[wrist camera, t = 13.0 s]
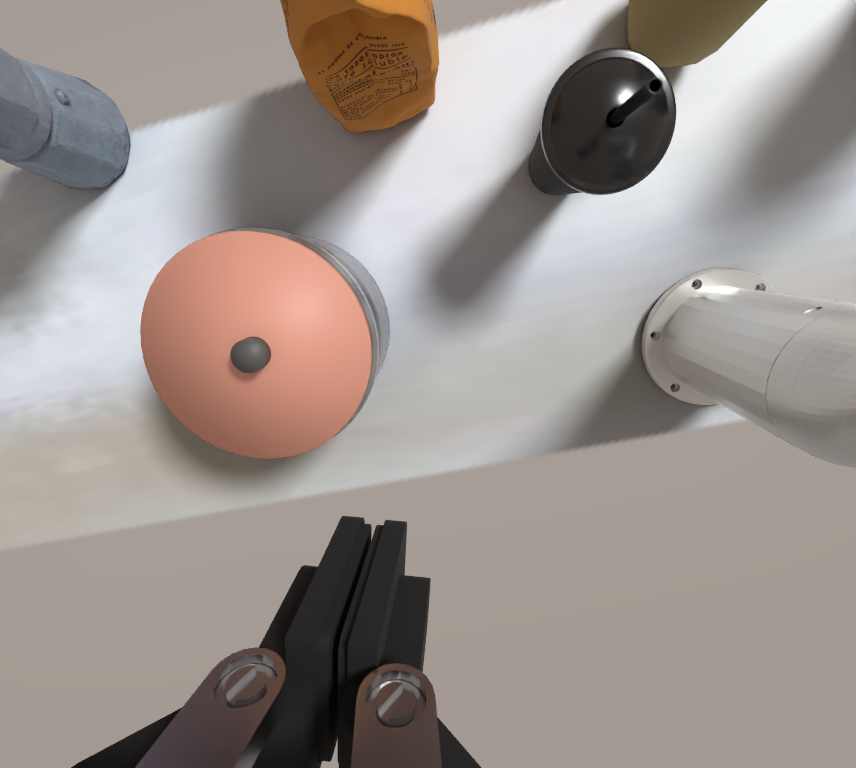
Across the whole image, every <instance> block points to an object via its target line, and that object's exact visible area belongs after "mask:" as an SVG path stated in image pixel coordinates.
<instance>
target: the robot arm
mask: <svg viewBox="0 0 856 768" xmlns="http://www.w3.org/2000/svg"><path fill="white" fill-rule="evenodd" d="M693 281H694V286H692V283H693ZM755 287H756V289H755ZM652 332H653V333H654V335H653V336H652V337H650V335H651V333H652ZM642 355H643V361H644V364H645V366H646V369H647V371H648V373H649V375H650V376H651V378H652V379H653V381H654V382H655V383H656V384H657V385H658V386H659V387H660V388H661V389H662V390H664V391H665V392H667V393H668V394H670V395H671V396H673V397H675V398H677V399H679V400H681V401H684V402H688V403H692V404H701V405H711V404H721V405H723V406H725V407H726V408H728V409H730V410H732V411H733V412H735V413H737V414H739V415H740V416H742V417H744V418H746V419H747V420H749V421H751V422H753V423H754V424H756V425H758V426H760V427H762V428H763V429H765V430H767V431H769V432H770V433H772V434H774V435H776V436H777V437H779V438H781V439H783V440H784V441H786V442H788V443H790V444H791V445H793V446H796V447H797V448H799V449H801V450H803V451H804V452H806V453H808V454H810V455H812V456H814V457H817V458H819V459H821V460H824V461H827V462H830V463H833V464H837V465H841V466H847V467H855V468H856V303H853V302H845V301H837V300H830V299H822V298H814V297H806V296H799V295H791V294H783V293H778V291H777V290H776V289H775V288H774V287H773V286H772V285H771V284H770V283H769V282H768V281H766V280H765V279H763V278H762V277H760V276H759V275H756V274H754V273H751V272H748V271H746V270H739V269H733V268H716V269H709V270H704V271H701V272H698V273H695V274H692V275H690V276H688V277H686V278H684V279H682V280H680V281H679V282H677V283H676V284H675V285H674V286H672V287H671V288H670V289H668V290H667V291H666V292H665V293H664V294H663V295H662V297H661V298H660V299H659V300H658V301H657V303H656V304H655V306H654V307H653V309H652V310H651V312H650V314H649V316H648V318H647V321H646V323H645V326H644V330H643V335H642ZM672 384H673V386H672V387H671V385H672ZM406 533H407V522H402V521H391V520H386V521H385V523H384V525H377V526H376V529H375V532H374V535H373V538H372V541H371V524H365V523H364V518H360V517H349V516H342V517H341V519H340V521H339V523H338V526H337V528H336V530H335V532H334V534H333V536H332V538H331V541H330V543H329V545H328V547H327V549H326V551H325V554H324V556H323V558H322V560H321V562H320V564H319V566H318V567H315V566H306V565H304V566H302V567H301V569H300V570H299V572H298V574H297V576H296V578H295V580H294V581H293V583H292V585H291V587H290V589H289V591H288V593H287V595H286V597H285V599H284V600H283V602H282V604H281V606H280V608H279V610H278V612H277V614H276V616H275V618H274V620H273V621H272V623H271V625H270V627H269V629H268V631H267V633H266V635H265V637H264V639H263V641H262V643H261V645H260V646H259V648H249V649H243V650H241V651H238V652H236V653H233V654H231V655H230V656H228V657H226V658H225V659H223V660H222V661H221V662H219V664H217V666H216V667H214V668H213V669H212V671H211V672H210V673H209V674H208V676H207V677H206V678H205V680H204V681H203V682H202V683H201V685H200V686H199V687H198V688H197V690H196V691H195V692H194V694H193V695H192V696H191V697H190V699H189V700H188V701H187V702H186V704H185V705H184V706H183V707H182V708H180V709H178V710H177V711H175V712H173V713H171V714H169V715H167V716H166V717H164V718H162V719H160V720H158V721H156V722H154V723H152V724H150V725H148V726H147V727H145V728H143V729H141V730H139V731H137V732H135V733H133V734H132V735H130V736H128V737H126V738H124V739H122V740H121V741H119V742H117V743H115V744H113V745H111V746H110V747H107V748H105V749H104V750H102V751H100V752H98V753H96V754H95V755H92V756H90V757H89V758H87V759H85V760H83V761H81V762H79V763H77V764H76V765H75V766H73V767H71V768H320V766H321V763H322V761H331V759H332V756H333V753H334V749H335V745H336V741H337V738H338V763H339V768H481V767H480V766H479V764H478V763H477V762H476V761H475V760H474V759H473V758H472V756H471V755H470V754H469V753H468V752H467V751H466V750H465V748H464V747H463V746H462V745H461V744H460V743H459V741H458V740H457V739H456V738H455V737H454V736H453V734H452V733H451V732H450V731H449V730H448V729H447V728H446V726H445V725H444V724H443V723H442V722H441V721H440V720H439V718H438V717H437V710H436V699H435V693H434V689H433V686H432V684H431V682H430V681H429V679H428V678H427V676H426V675H425V674H423V673H422V672H423V662H424V652H425V643H426V633H427V622H428V609H429V594H430V578H424V577H414V576H405V575H404V574H405V553H406Z"/></svg>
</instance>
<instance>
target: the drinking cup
mask: <svg viewBox="0 0 856 768" xmlns="http://www.w3.org/2000/svg"><path fill="white" fill-rule="evenodd" d="M675 121H676V103H675V97H674V93H673V89H672V87H671V84H670V82H669V80H668V78H667V76H666V74H665V73H664V72H663V70H662V69H661V68H660V67H659V65H658V64H656V63H655V62H654V61H653V60H652V59H650V58H649V57H648V56H646V55H644V54H642V53H640V52H638V51H635V50H631V49H627V48H606V49H601V50H598V51H595V52H592V53H590V54H588V55H586V56H584V57H582V58H581V59H579V60H577V61H576V62H575V63H574V64H572V65H571V66H570V67H569V68H568V69H567V70H566V71H565V72H564V73H563V74H562V75H561V76H560V78H559V79H558V81H557V82H556V83H555V85H554V87H553V88H552V90H551V92H550V94H549V96H548V98H547V101H546V103H545V106H544V110H543V114H542V119H541V129H540V132H539V135H538V137H537V140H536V143H535V145H534V148H533V151H532V154H531V156H530V160H529V173H530V177H531V179H532V181H533V183H534V184H535V186H536V187H537V188H538V189H539V190H541V191H542V192H544V193H547V194H551V195H559V194H570V193H581V192H583V193H586V194H592V195H607V194H613V193H617V192H620V191H623V190H626V189H628V188H630V187H632V186H634V185H635V184H637V183H639V182H640V181H642V180H643V179H644V178H645V177H647V176H648V175H649V174H650V173H651V172H652V171H653V170H654V169H655V167H656V166H657V165H658V164H659V162H660V161H661V160H662V158H663V156H664V155H665V153H666V151H667V149H668V147H669V145H670V142H671V139H672V136H673V132H674V128H675Z"/></svg>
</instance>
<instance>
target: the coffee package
mask: <svg viewBox="0 0 856 768" xmlns="http://www.w3.org/2000/svg"><path fill="white" fill-rule="evenodd" d="M281 4H282V8H283V12H284V16H285V21H286V26H287V31H288V37H289V40H290V44H291V46H292V48H293V50H294V53H295V55H296V57H297V60H298V62H299V65H300V68H301V70H302V73H303V75H304V77H305V79H306V81H307V83H308V85H309V87H310V88H311V90H312V91H313V93H314V95H315V97H316V98H317V100H318V101H319V102H320V103H321V104H322V105H323V106H324V107H325V108H326V109H327V110H329V112H330V113H331V114H332V115H333V116H334V117H335V118H336V119H338V120H339V121H340V123H341V124H342V125H343V127H344V128H345V129H346V130H347V131H348V132H352V133H359V132H364V131H373V130H380V129H386V128H390V127H393V126H395V125H397V124H398V123H400V122H401V121H404V120H407V119H409V118H411V117H413V116H415V115H417V114H418V113H420V112H421V111H423V110H425V109H427V108H429V107H430V106H431V105H432V104H433V103H434V101H435V81H436V76H437V72H438V65H439V52H438V37H437V30H436V22H435V15H434V10H433V5H432V1H431V0H281Z"/></svg>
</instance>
